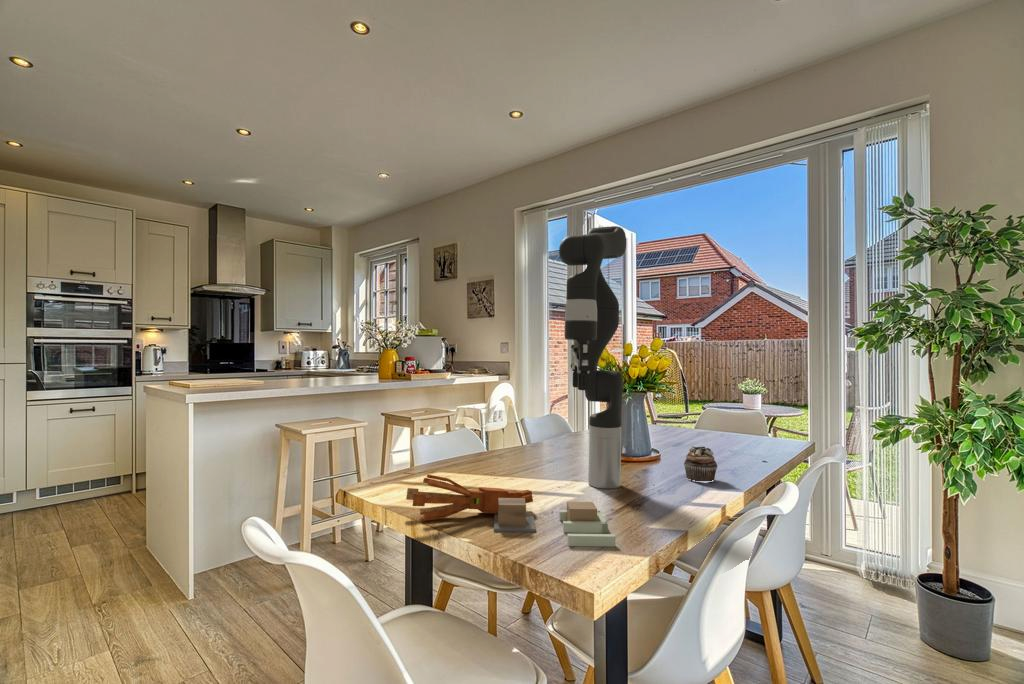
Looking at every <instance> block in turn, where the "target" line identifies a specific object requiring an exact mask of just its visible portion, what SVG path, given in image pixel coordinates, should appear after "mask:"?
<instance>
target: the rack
mask: <svg viewBox="0 0 1024 684" xmlns="http://www.w3.org/2000/svg"><path fill="white" fill-rule="evenodd" d="M558 512H559V513H558V515H559V516H558V519H559V521H560V522H561V521H562V532H563V534H565V533H567V535H566V536H567V537H566V538H567V539H566V541H567V542H566V544H567V547H616V535H615V533H609V523H608V521H607V520H606V518H605V516H604V515H603V513H602V511H601V510H598V508H597V506H596V505H595V502H593V501H566V509H564V510H563V509H561V510H560V509H559V510H558Z"/></svg>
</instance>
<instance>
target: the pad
mask: <svg viewBox="0 0 1024 684" xmlns="http://www.w3.org/2000/svg"><path fill="white" fill-rule="evenodd" d="M493 514H494V516H493V517H494V518H493V532H499V533H500V532H502V533H503V532H505V533H506V532H511V533H513V532H514V533H517V532H518V533H533V532H534V533H536V532H537V531H536V525H535V518H534V515H533V514H526V526H498V513H493Z"/></svg>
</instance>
